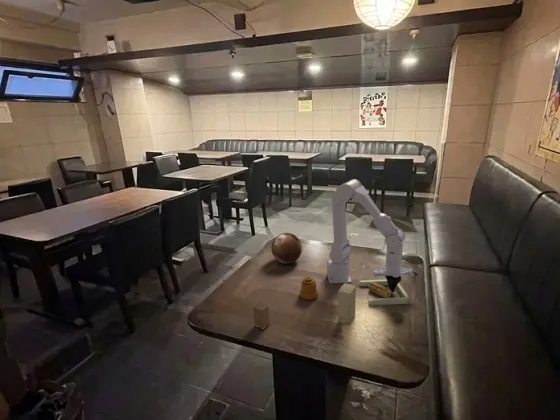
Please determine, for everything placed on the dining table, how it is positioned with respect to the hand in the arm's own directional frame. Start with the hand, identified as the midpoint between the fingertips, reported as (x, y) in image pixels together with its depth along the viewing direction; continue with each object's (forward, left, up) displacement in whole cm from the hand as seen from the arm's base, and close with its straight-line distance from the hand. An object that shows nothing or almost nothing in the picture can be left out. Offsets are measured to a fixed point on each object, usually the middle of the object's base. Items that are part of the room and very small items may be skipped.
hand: (391, 291), depth 121 cm
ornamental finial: (-33, +1, -1) cm, 33 cm away
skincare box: (-21, -14, -1) cm, 25 cm away
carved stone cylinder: (-5, 0, -1) cm, 5 cm away
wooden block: (-51, -16, -1) cm, 53 cm away
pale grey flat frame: (-3, 0, -1) cm, 3 cm away
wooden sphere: (-41, +31, -1) cm, 51 cm away
